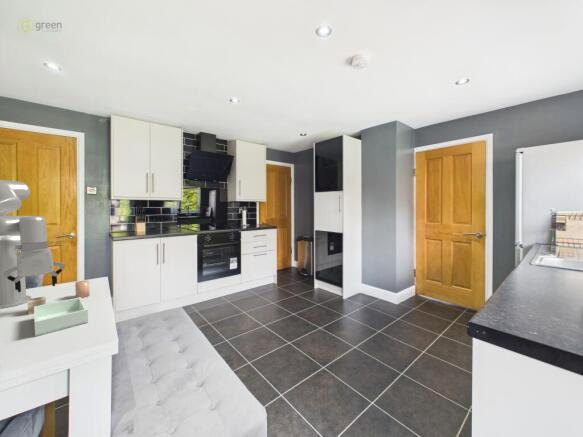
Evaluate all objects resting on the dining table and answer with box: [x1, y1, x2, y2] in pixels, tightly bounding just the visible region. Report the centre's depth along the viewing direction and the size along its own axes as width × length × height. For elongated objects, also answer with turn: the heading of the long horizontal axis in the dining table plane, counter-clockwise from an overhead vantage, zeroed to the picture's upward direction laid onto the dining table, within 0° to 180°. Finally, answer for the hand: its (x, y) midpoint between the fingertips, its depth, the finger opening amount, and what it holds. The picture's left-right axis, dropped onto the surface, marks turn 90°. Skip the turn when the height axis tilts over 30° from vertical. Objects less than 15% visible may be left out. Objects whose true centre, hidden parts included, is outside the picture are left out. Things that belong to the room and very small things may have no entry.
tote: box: [33, 297, 89, 338], centre depth 92 cm, size 18×14×5 cm
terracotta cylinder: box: [74, 280, 90, 299], centre depth 116 cm, size 5×5×7 cm
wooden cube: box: [27, 295, 47, 316], centre depth 100 cm, size 5×5×5 cm
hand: (37, 288), depth 99 cm, fingers open, 9 cm apart
